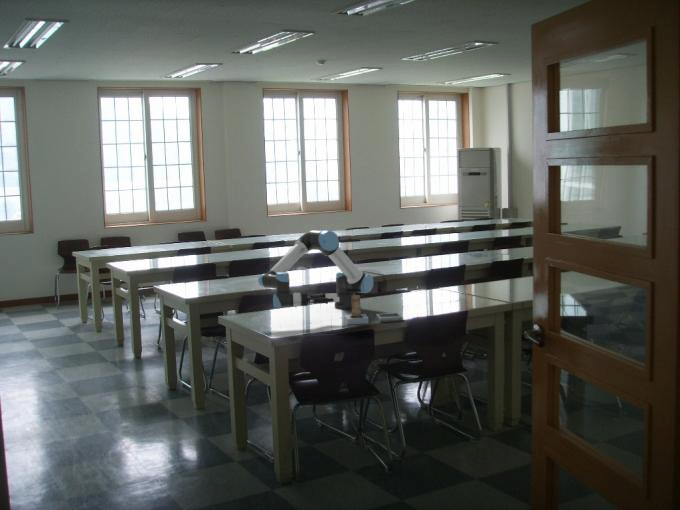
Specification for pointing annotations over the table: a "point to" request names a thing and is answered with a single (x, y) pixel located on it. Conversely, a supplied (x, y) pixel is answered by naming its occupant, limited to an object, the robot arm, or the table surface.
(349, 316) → the socket block
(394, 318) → the tray
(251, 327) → the table surface
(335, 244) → the robot arm
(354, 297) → the dowel
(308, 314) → the table surface
